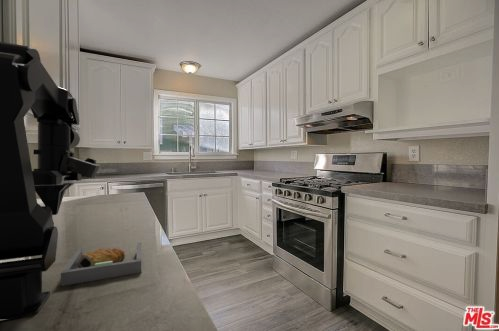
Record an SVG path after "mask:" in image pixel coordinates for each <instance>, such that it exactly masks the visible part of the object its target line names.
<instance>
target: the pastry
mask: <svg viewBox="0 0 499 331" xmlns="http://www.w3.org/2000/svg"><path fill="white" fill-rule="evenodd" d="M125 257H126V255H125V251H124V250H122V249H119V248H112V249H111V248H103V249H102V248H98V249H95V250H94V251H89V252H86V253H84V254H82V256H81V258H80V259H79V261H78V263H77V267H78V268H85V267H92V266H95V264H96V263H100V262H107V261H113V263H118V262H123V261H124V259H125ZM78 268H77V269H78Z"/></svg>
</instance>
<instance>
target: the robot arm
mask: <svg viewBox="0 0 499 331" xmlns="http://www.w3.org/2000/svg"><path fill="white" fill-rule="evenodd" d="M77 105H78V104H77V101H76V98H75V97H73V95H72V93H71V92H70V91H69V90H67V89H66V88H63V87H60V86H58V85H57V84H56V82H55V81H54V80H53V78H52V76H51V75H50V73H49V72H48V70H47V69H46V68H45V66H44V65H43V63H42V60H41V57H40V53H39V50H37V49H36V48H32V47H31V46H28V45H23V44H16V43H9V42H4V41H3V42H2V41H0V261H4V262H0V319H10V320H14V319H19V318H23V317H29V316H33V315H36V314H38V313H39V311H40V309H41V308H43V305H44V304H45V302H46V301H47V300H48V298H49V297H50V296H51V291H44V292H43V272H47V271H48V270H49V269H50V268H51V266H52V265H53V264H54V263H55V262H56V258H57V249H58V238H59V231H58V227H57V226H55V222H54V218H53V216H57V215H58V214H59V212H60V208H61V205H62V201H63V198H64V197H65V193H66V190H68V189H69V188H71V187H72V186H74V184H75V182H68V181H77V182H79V181H82V176H83V177H86V178H88V179H92V178H95V177H96V176H97V175H96V174H97V172H98V171H99V168H100V165H99V164H97V160H96V159H94V158H91V157H88V158H86V159H85V160H83V159H79V158H77V157H75V152H73V150H72V149H74V148H76V147H77V146H78V145H79V144H80V142H81V138H80V135H79V132H77V131H76V130H75V129H73V125H76V126H79V125H80V119H79V112H78V106H77ZM29 111H31V112H32V115H33V118H34V119H36V121H37V122H38V123H37V149H33V155H37V168H32V163H31V155H30V149H29V144H28V138H27V137H28V136H27V131H26V125H25V124H26V123H25V117H26V116H27V114H28V112H29ZM71 150H72V151H71ZM37 196H38V197H39V199H40V200H41V201H42V203H43V206H41V205H40V204H39V203H38V200H37ZM38 256H40V257H38ZM32 257H33V258H32ZM25 258H27V259H25ZM17 259H20V260H17ZM6 260H8V261H6ZM9 260H13V261H9Z"/></svg>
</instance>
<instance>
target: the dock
mask: <svg viewBox="0 0 499 331" xmlns="http://www.w3.org/2000/svg"><path fill="white" fill-rule="evenodd" d="M82 255H83V249H79V250H76V252H75V253H74V254H73V255H72V257H71V259H70V260H69V261H68V263H67V264H66V265H65V266H64V268H63V269H62V271H61V272H60V287H64V286H68V285H74V284H75V285H76V284H81V283H86V282H92V281H97V280H98V281H99V280H105V279H111V278H115V277H117V278H118V277H121V276H128V275H134V274H138V273H142V242H137V243H136V256H135V257H136V259H134V260H133V259H132V260H127V261H121V262H118V263H113V261H107V262H100V263H96V264H95V266H92V267H85V268H78V267H77V263H78V261H79V259H80V258H81V256H82Z"/></svg>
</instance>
